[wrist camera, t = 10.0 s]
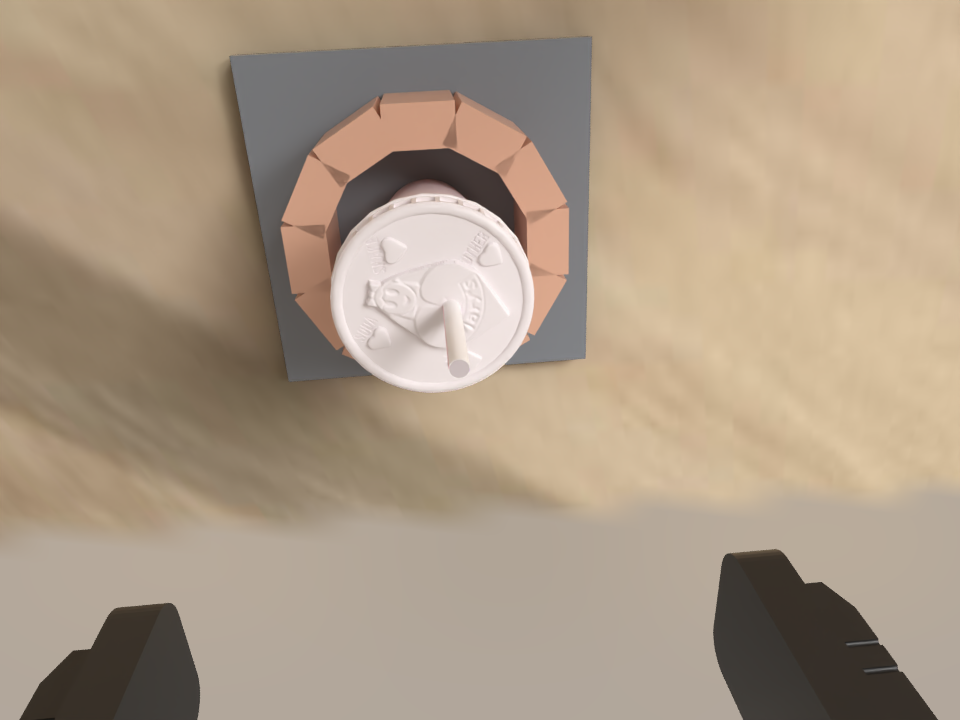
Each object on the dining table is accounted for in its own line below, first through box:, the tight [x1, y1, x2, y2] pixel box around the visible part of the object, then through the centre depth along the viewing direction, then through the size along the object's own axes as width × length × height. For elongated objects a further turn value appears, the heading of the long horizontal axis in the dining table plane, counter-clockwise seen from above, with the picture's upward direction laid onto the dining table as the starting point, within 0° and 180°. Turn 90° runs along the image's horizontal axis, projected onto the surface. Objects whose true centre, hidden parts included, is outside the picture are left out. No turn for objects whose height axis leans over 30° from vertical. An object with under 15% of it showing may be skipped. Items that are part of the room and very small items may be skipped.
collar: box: [230, 36, 592, 382], centre depth 29 cm, size 14×14×5 cm
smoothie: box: [330, 179, 534, 393], centre depth 24 cm, size 6×6×14 cm
